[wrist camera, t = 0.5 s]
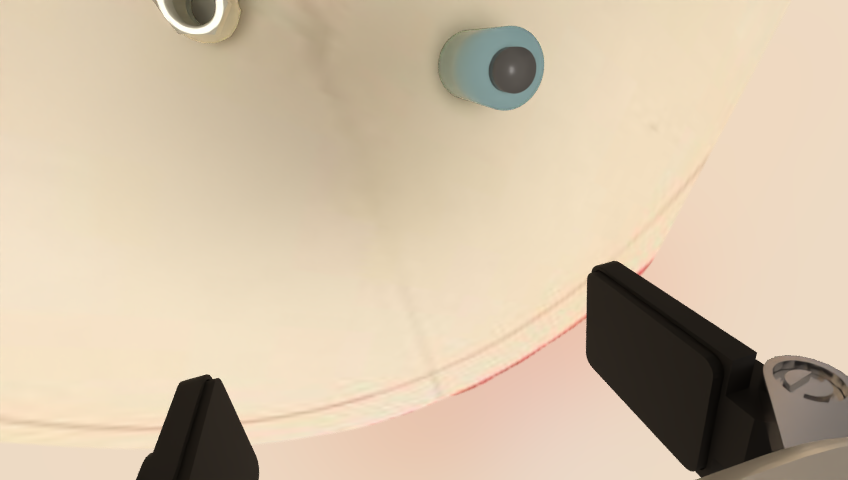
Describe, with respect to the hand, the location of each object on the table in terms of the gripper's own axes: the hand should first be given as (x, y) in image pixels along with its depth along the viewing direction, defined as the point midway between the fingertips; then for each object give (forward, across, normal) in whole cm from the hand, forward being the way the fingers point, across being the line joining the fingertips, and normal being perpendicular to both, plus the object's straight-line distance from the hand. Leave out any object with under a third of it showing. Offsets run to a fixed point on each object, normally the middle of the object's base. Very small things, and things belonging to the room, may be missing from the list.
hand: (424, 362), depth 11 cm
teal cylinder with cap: (+28, -12, -4) cm, 30 cm away
